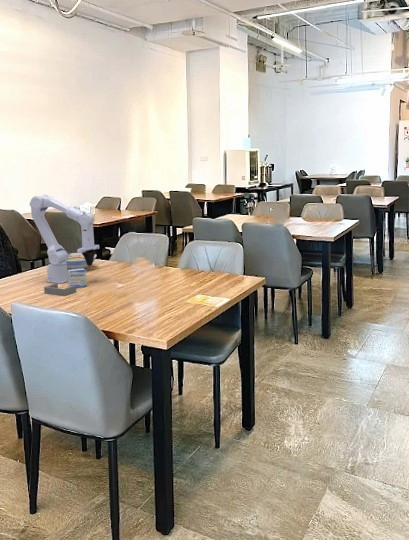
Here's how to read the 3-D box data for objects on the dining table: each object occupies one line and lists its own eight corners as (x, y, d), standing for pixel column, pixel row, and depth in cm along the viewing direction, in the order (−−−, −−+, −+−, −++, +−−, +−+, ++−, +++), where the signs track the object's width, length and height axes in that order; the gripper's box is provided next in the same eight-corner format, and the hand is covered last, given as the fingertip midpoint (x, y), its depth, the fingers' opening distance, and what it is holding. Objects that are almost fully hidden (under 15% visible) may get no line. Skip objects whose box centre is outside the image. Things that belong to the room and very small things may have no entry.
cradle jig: (44, 293, 243) (44, 287, 242) (56, 289, 250) (56, 283, 249) (64, 296, 238) (64, 289, 237) (76, 291, 245) (76, 285, 244)
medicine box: (70, 289, 250) (69, 271, 249) (68, 287, 254) (67, 269, 253) (86, 286, 254) (85, 269, 252) (84, 285, 258) (83, 267, 256)
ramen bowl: (92, 273, 283) (91, 258, 281) (49, 274, 283) (48, 259, 282) (101, 264, 307) (100, 250, 306) (62, 265, 308) (61, 251, 306)
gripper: (84, 240, 250) (86, 268, 253) (103, 236, 263) (105, 263, 266) (73, 240, 253) (75, 267, 256) (92, 235, 266) (93, 262, 269)
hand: (89, 265), depth 261 cm, fingers closed
